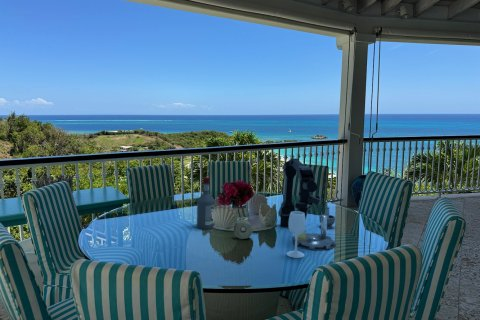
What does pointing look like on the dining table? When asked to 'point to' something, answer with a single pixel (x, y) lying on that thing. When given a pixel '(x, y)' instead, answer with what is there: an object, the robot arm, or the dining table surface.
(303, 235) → the link block
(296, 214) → the wineglass
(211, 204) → the liquor
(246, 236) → the stone disc
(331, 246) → the base mat
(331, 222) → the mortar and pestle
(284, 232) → the dining table surface
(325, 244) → the sprocket
